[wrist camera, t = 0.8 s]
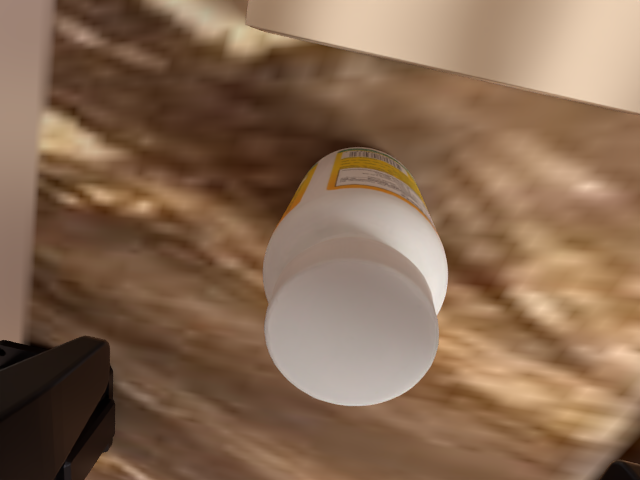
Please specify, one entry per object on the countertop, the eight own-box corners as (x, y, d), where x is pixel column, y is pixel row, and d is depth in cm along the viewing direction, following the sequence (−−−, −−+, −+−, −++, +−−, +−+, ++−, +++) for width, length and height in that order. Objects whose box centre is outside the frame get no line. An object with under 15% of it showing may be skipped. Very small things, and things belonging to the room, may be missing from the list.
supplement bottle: (389, 122, 17) (421, 184, 8) (437, 235, 18) (508, 391, 10) (274, 178, 18) (190, 285, 9) (328, 279, 20) (301, 451, 11)
